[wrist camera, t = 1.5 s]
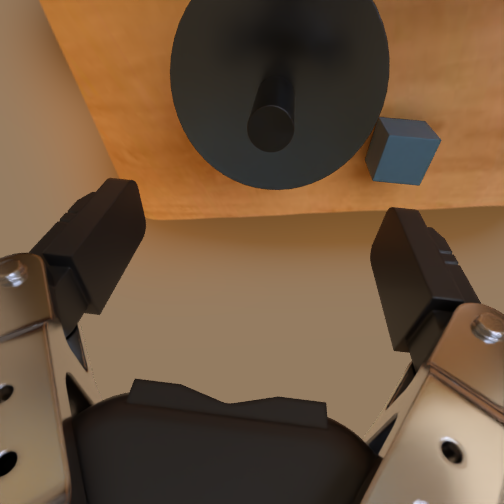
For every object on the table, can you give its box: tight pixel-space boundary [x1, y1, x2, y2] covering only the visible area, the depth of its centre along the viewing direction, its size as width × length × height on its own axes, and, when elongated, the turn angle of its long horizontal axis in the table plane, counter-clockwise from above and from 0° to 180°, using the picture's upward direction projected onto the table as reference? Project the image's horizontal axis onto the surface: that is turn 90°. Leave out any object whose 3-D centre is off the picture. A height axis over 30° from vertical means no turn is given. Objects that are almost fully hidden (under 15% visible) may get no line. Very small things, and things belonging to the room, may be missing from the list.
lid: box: [170, 0, 390, 190], centre depth 18 cm, size 14×14×7 cm
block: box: [365, 117, 441, 185], centre depth 29 cm, size 4×4×4 cm
